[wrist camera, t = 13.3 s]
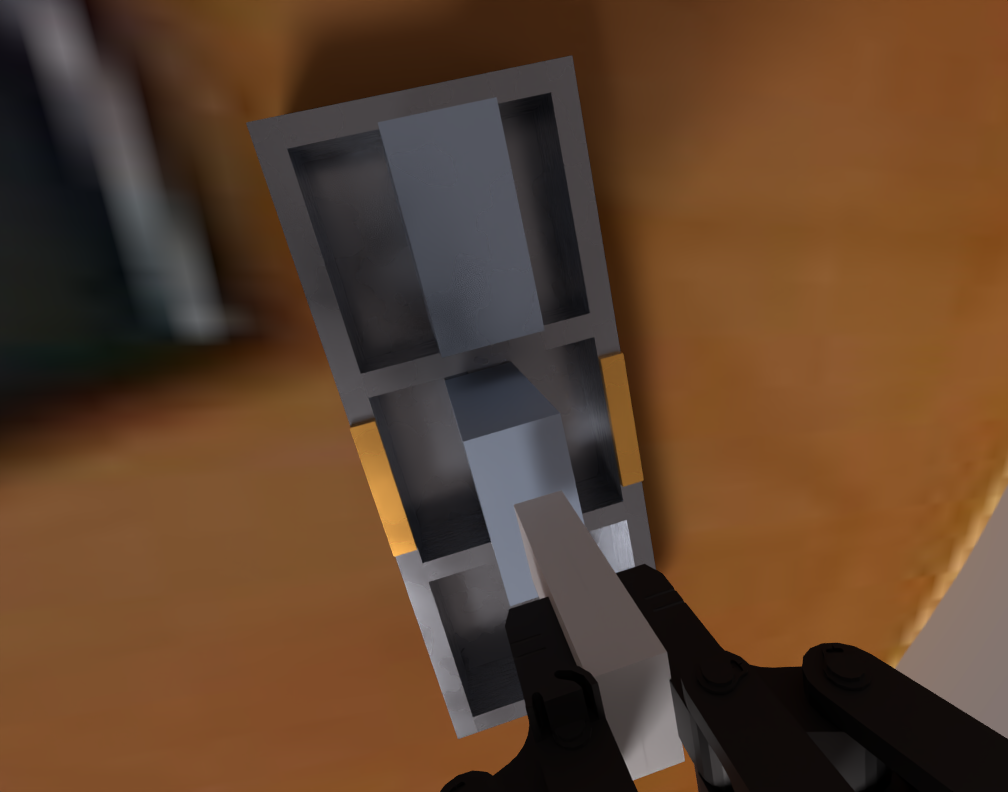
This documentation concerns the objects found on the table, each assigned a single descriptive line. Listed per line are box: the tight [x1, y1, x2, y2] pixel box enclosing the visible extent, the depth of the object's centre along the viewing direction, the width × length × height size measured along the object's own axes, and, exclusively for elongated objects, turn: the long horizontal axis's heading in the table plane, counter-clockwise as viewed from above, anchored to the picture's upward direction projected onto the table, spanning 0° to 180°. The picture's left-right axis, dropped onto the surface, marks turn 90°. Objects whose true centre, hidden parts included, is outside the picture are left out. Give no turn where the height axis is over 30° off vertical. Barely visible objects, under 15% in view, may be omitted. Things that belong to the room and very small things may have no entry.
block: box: [445, 362, 584, 606], centre depth 21 cm, size 6×3×8 cm, turn 14°
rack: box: [246, 56, 656, 739], centre depth 22 cm, size 28×11×9 cm, turn 13°
